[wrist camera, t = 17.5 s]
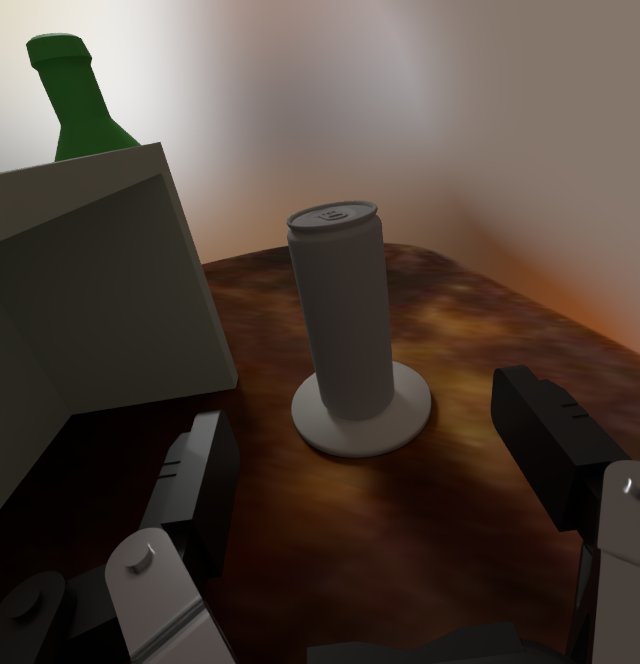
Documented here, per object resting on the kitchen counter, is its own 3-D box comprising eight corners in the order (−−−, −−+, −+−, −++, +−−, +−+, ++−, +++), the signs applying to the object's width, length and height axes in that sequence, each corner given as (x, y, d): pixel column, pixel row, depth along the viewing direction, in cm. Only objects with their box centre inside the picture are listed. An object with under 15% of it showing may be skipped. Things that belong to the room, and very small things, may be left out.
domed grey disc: (407, 476, 20) (406, 468, 20) (267, 436, 24) (264, 429, 24) (445, 374, 27) (445, 367, 27) (329, 357, 31) (328, 351, 31)
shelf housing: (190, 581, 17) (-48, 183, 9) (-115, 624, 18) (-603, 288, 10) (238, 376, 31) (160, 142, 23) (63, 405, 31) (-76, 186, 23)
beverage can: (373, 368, 28) (352, 195, 22) (411, 405, 24) (399, 207, 18) (311, 392, 27) (272, 217, 21) (341, 436, 23) (303, 234, 17)
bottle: (220, 325, 39) (117, 17, 27) (132, 359, 36) (-30, 27, 24) (199, 300, 46) (109, 45, 34) (123, 326, 43) (-5, 56, 31)
